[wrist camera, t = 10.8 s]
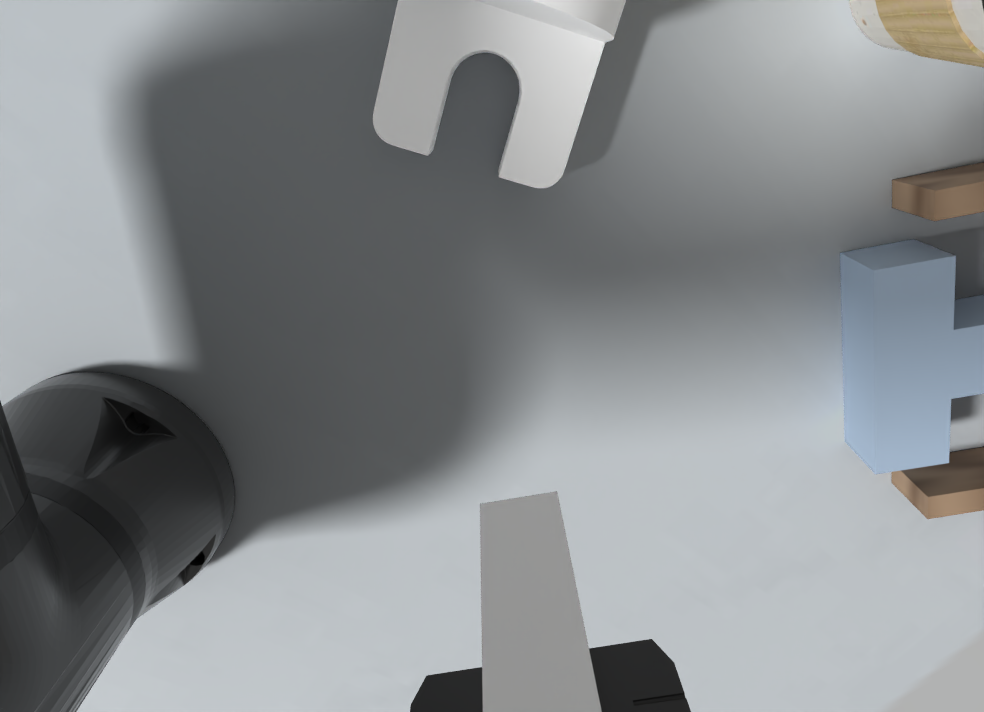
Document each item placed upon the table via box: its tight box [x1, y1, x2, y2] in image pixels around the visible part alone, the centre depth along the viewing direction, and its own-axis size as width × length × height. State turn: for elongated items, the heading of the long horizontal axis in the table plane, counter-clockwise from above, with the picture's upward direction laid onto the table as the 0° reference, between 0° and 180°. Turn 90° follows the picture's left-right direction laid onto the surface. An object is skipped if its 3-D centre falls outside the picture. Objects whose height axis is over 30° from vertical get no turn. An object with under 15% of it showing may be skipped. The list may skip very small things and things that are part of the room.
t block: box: [840, 239, 984, 474], centre depth 40 cm, size 10×12×4 cm
